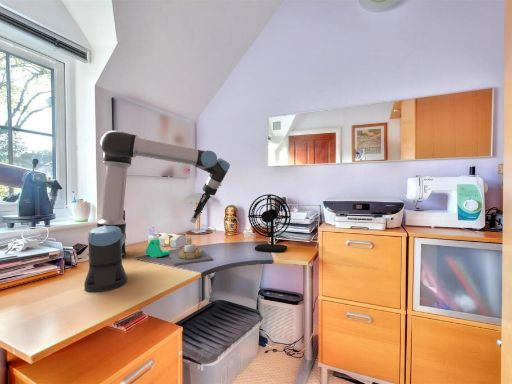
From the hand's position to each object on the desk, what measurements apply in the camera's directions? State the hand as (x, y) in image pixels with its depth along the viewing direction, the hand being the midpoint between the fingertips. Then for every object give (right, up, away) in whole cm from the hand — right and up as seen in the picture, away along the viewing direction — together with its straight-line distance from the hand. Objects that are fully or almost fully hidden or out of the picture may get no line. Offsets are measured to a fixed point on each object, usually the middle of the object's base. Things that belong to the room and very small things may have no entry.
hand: (192, 222), depth 142 cm
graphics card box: (-46, -21, +8) cm, 51 cm away
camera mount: (-22, -21, +7) cm, 31 cm away
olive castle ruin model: (-2, -19, +3) cm, 19 cm away
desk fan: (+45, -20, +18) cm, 52 cm away
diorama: (-26, -20, +33) cm, 47 cm away
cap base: (-2, -20, +1) cm, 20 cm away
